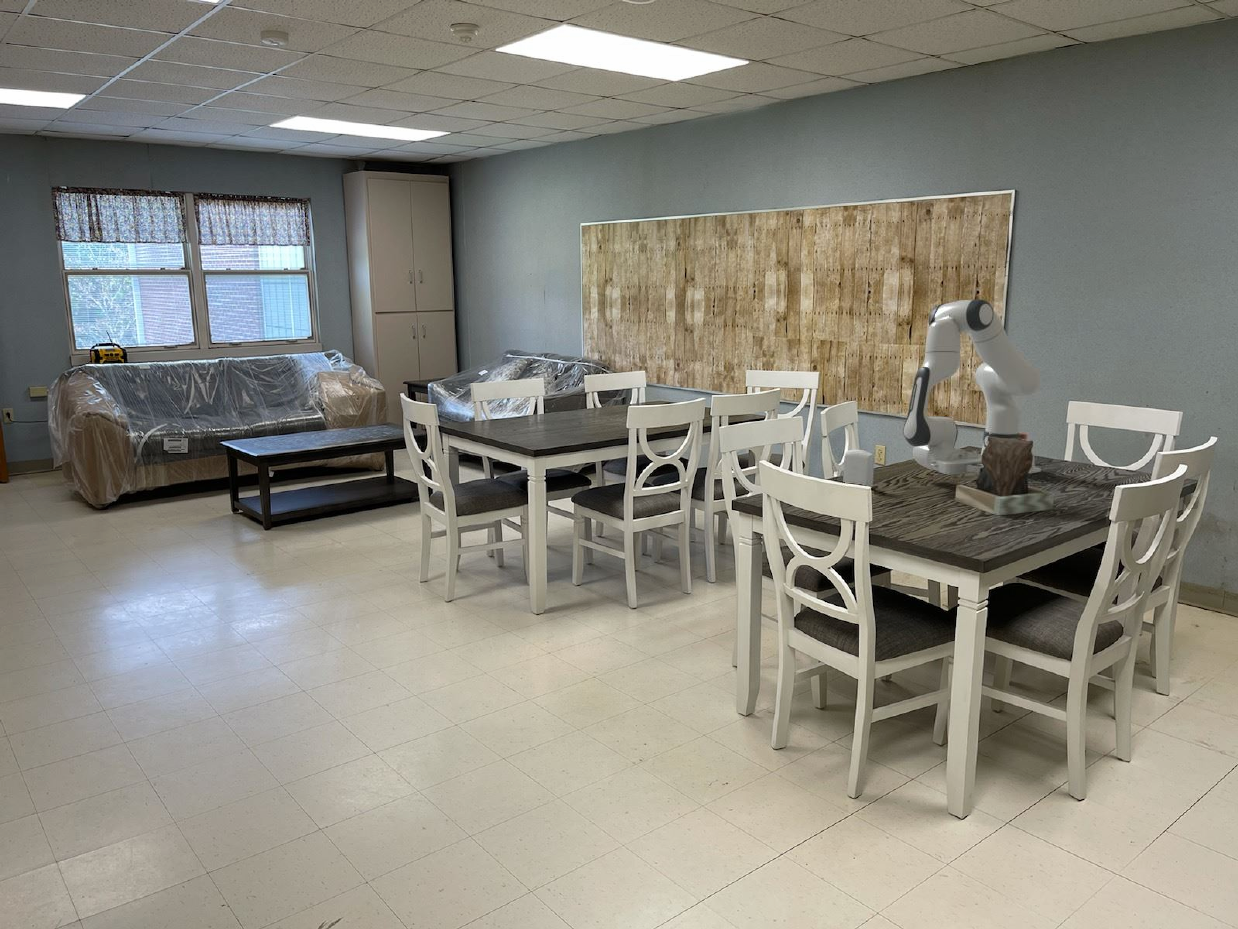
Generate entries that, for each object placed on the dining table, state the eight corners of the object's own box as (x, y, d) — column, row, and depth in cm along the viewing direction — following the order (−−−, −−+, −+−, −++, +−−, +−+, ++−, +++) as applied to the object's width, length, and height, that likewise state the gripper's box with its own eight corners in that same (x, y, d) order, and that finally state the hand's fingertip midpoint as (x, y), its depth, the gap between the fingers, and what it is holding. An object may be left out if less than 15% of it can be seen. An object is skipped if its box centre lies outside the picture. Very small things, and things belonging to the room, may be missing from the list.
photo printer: (840, 484, 299) (843, 448, 296) (848, 483, 301) (851, 446, 299) (866, 490, 291) (869, 453, 288) (874, 488, 294) (877, 451, 291)
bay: (1006, 495, 287) (1008, 480, 286) (1052, 509, 270) (1054, 493, 269) (955, 500, 279) (956, 485, 278) (998, 515, 263) (1000, 498, 262)
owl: (972, 498, 282) (978, 435, 278) (1004, 495, 286) (1011, 434, 282) (1001, 508, 271) (1008, 443, 266) (1034, 505, 275) (1042, 441, 270)
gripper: (927, 454, 289) (958, 462, 276) (977, 450, 296) (1009, 458, 284) (926, 473, 290) (956, 482, 278) (975, 468, 298) (1007, 477, 285)
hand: (983, 470), depth 281 cm, fingers closed
